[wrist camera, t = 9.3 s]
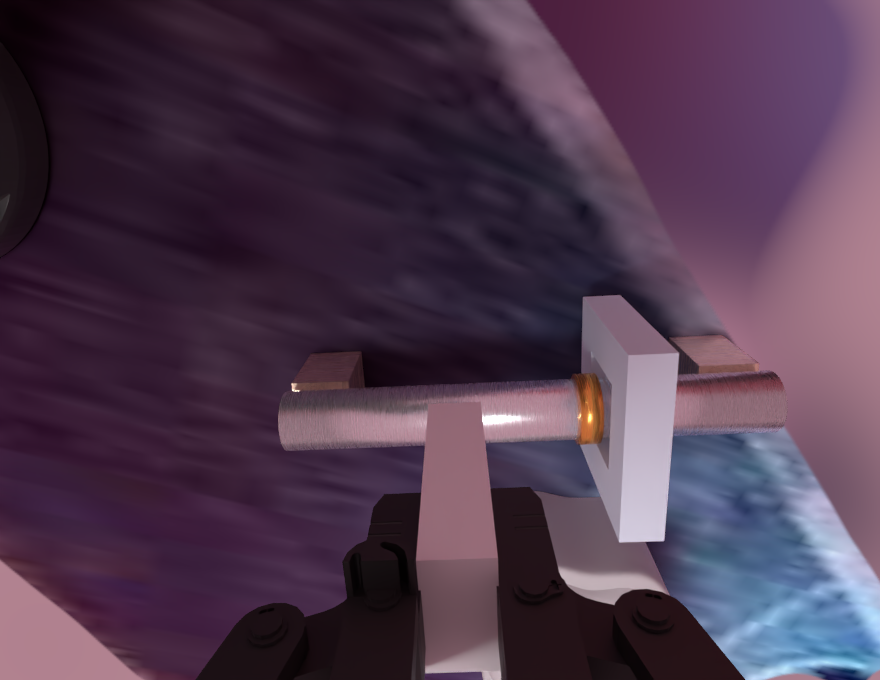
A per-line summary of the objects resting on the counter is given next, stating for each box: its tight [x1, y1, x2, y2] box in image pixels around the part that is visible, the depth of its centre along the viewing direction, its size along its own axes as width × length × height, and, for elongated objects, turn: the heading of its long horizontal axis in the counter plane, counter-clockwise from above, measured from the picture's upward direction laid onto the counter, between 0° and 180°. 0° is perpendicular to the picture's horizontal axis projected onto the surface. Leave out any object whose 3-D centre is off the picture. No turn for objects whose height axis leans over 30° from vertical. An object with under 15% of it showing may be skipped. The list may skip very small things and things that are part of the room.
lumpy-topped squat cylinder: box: [482, 491, 670, 680], centre depth 36 cm, size 10×13×9 cm
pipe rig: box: [278, 335, 787, 451], centre depth 32 cm, size 24×4×8 cm, turn 93°
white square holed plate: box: [580, 295, 679, 542], centre depth 29 cm, size 2×9×9 cm, turn 3°
